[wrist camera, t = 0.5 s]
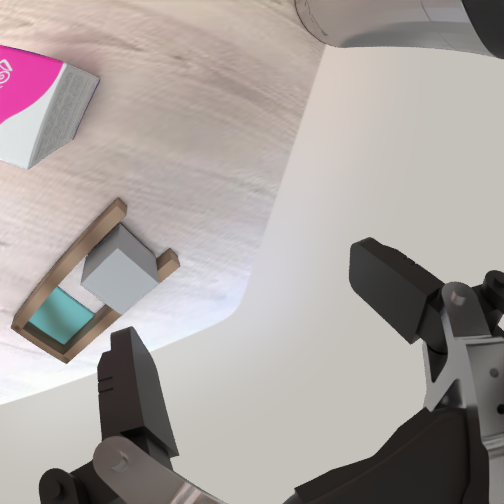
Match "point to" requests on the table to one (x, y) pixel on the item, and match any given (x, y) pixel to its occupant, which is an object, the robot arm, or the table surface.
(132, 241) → the block
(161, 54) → the table surface
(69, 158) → the table surface
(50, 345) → the wooden u-shaped frame
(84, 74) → the supplement box
